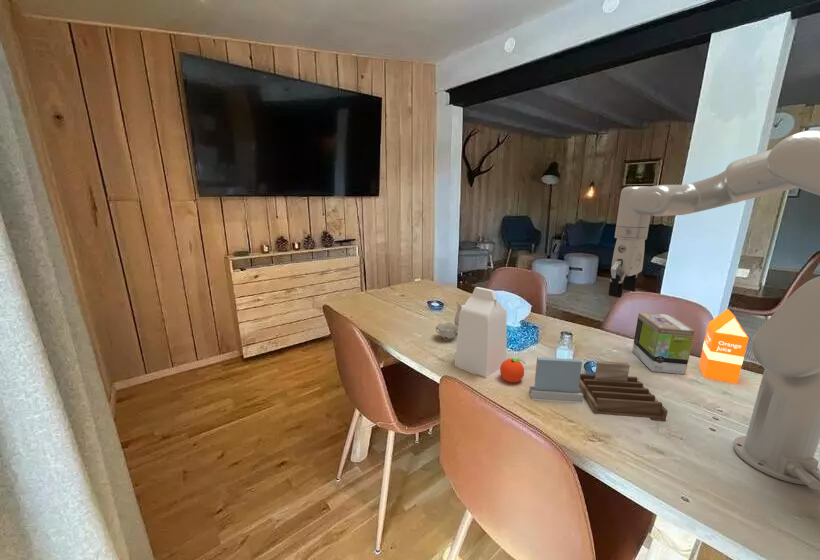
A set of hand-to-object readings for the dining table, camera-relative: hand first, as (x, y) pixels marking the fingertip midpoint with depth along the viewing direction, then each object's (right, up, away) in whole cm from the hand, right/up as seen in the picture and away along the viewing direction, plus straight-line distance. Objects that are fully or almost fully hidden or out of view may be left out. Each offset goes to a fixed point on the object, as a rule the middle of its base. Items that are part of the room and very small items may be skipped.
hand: (621, 293), depth 99 cm
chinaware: (-37, -19, +35) cm, 54 cm away
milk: (-38, -24, +14) cm, 47 cm away
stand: (-21, -29, -4) cm, 36 cm away
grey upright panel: (-21, -28, -4) cm, 35 cm away
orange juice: (+34, -25, +8) cm, 44 cm away
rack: (-5, -29, -6) cm, 30 cm away
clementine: (-30, -27, +5) cm, 40 cm away
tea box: (+21, -24, +16) cm, 36 cm away
